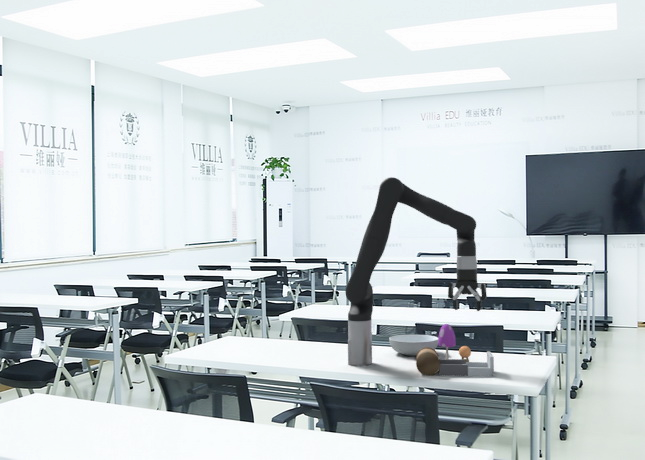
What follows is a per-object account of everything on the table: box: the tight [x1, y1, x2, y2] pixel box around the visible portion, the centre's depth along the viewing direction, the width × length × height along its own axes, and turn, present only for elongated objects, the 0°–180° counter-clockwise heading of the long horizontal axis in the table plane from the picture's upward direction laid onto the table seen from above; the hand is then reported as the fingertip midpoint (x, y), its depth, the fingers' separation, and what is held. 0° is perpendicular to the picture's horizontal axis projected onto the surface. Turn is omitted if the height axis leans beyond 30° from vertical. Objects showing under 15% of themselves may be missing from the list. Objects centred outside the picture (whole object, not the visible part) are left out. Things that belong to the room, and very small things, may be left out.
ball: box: [458, 345, 472, 359], centre depth 239 cm, size 4×4×4 cm
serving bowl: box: [388, 334, 439, 357], centre depth 270 cm, size 21×21×7 cm
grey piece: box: [438, 351, 495, 378], centre depth 232 cm, size 19×10×7 cm, turn 82°
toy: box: [438, 323, 457, 359], centre depth 252 cm, size 7×7×15 cm
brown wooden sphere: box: [415, 347, 440, 377], centre depth 234 cm, size 10×8×8 cm
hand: (467, 310), depth 243 cm, fingers open, 8 cm apart
